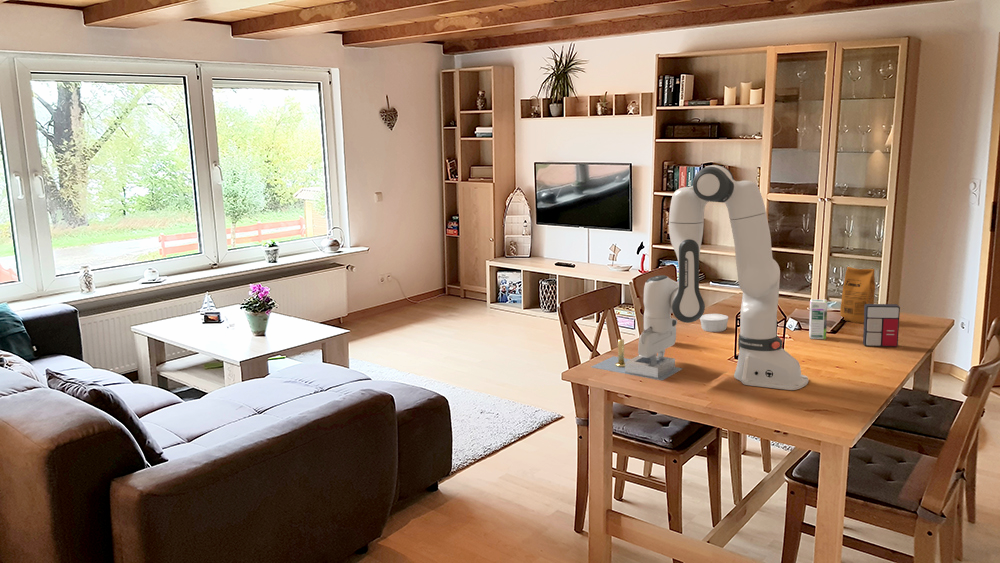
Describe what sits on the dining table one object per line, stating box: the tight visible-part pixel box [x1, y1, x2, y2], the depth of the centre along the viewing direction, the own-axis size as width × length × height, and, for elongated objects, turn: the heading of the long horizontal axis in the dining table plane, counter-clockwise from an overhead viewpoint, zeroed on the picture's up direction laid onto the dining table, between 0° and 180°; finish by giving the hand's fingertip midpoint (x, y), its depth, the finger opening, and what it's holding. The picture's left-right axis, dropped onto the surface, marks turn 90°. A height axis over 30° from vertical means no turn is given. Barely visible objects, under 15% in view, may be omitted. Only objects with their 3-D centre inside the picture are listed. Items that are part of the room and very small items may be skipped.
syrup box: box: [808, 298, 828, 340], centre depth 287 cm, size 6×6×14 cm
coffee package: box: [839, 266, 876, 324], centre depth 309 cm, size 10×12×22 cm
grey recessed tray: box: [625, 354, 676, 379], centre depth 252 cm, size 12×12×4 cm
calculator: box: [862, 303, 901, 348], centre depth 273 cm, size 11×4×15 cm, turn 76°
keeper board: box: [590, 355, 684, 381], centre depth 256 cm, size 27×15×2 cm, turn 50°
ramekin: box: [699, 313, 729, 333], centre depth 306 cm, size 11×11×5 cm
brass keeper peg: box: [615, 338, 625, 367], centre depth 258 cm, size 4×4×9 cm
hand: (657, 363), depth 255 cm, fingers closed on grey recessed tray, 2 cm apart
